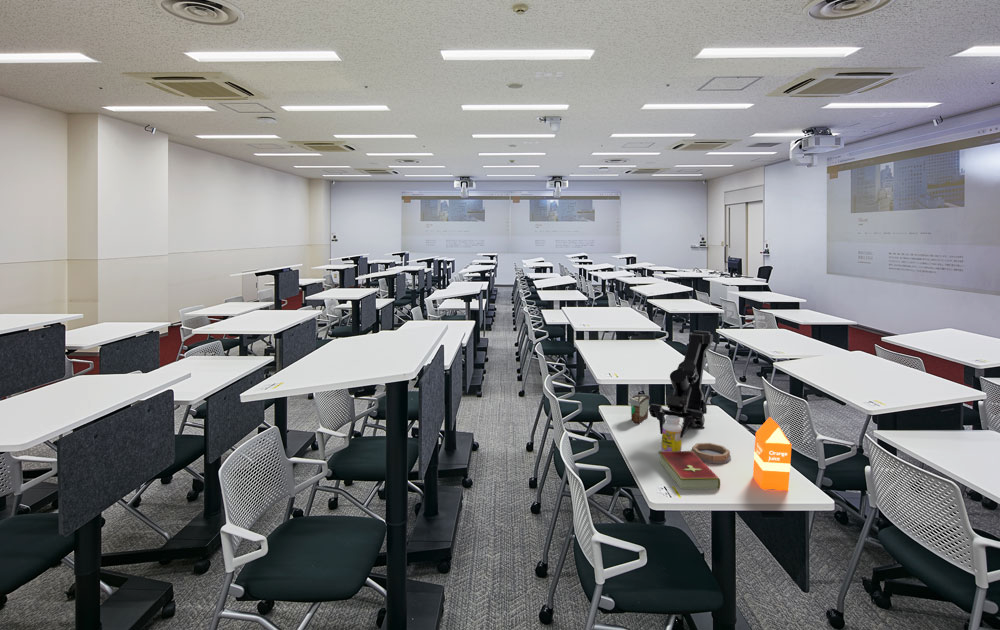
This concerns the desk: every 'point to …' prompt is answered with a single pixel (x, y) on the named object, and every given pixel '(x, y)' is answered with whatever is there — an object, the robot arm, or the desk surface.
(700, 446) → the coaster ring
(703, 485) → the hardcover book
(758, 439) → the orange juice
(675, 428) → the supplement bottle
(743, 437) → the desk surface
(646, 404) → the food container
